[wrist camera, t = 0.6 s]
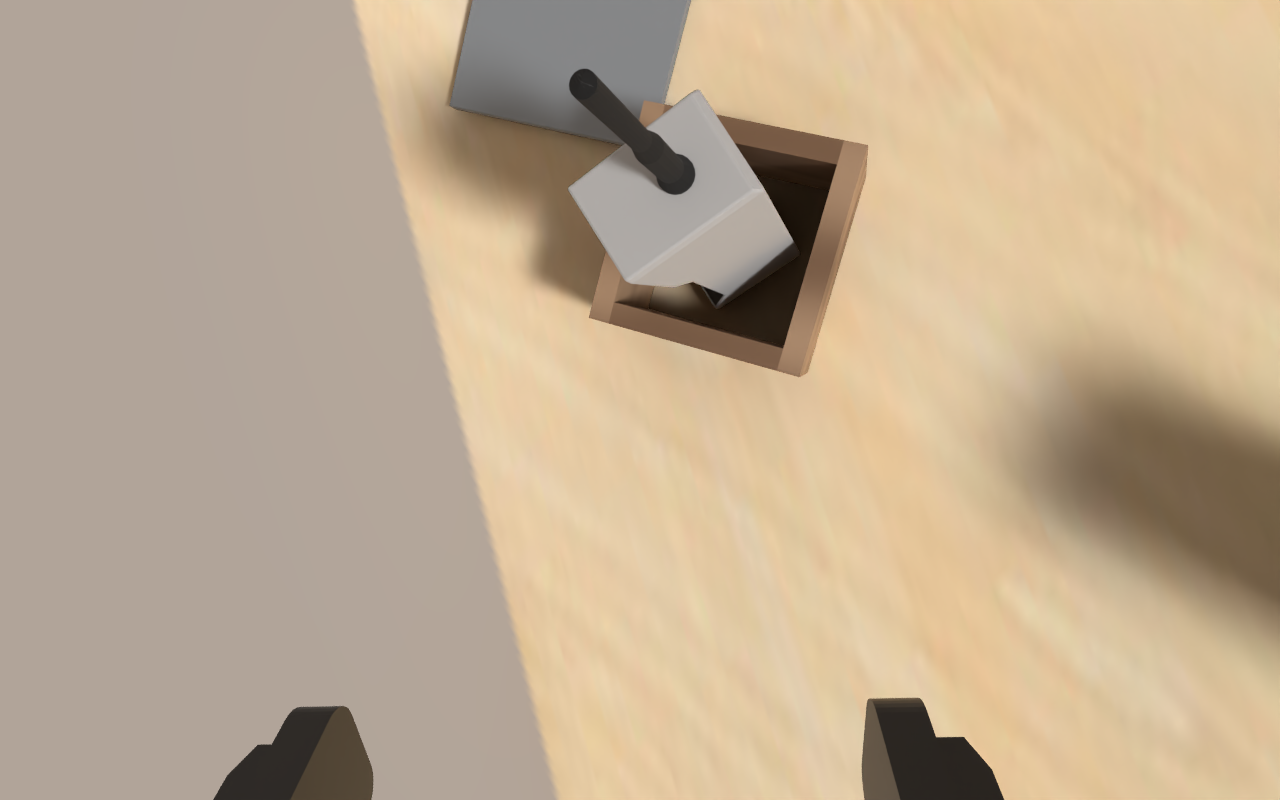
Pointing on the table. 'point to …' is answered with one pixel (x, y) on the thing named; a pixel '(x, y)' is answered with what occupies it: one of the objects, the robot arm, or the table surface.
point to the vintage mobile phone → (678, 199)
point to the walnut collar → (844, 178)
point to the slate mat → (566, 58)
